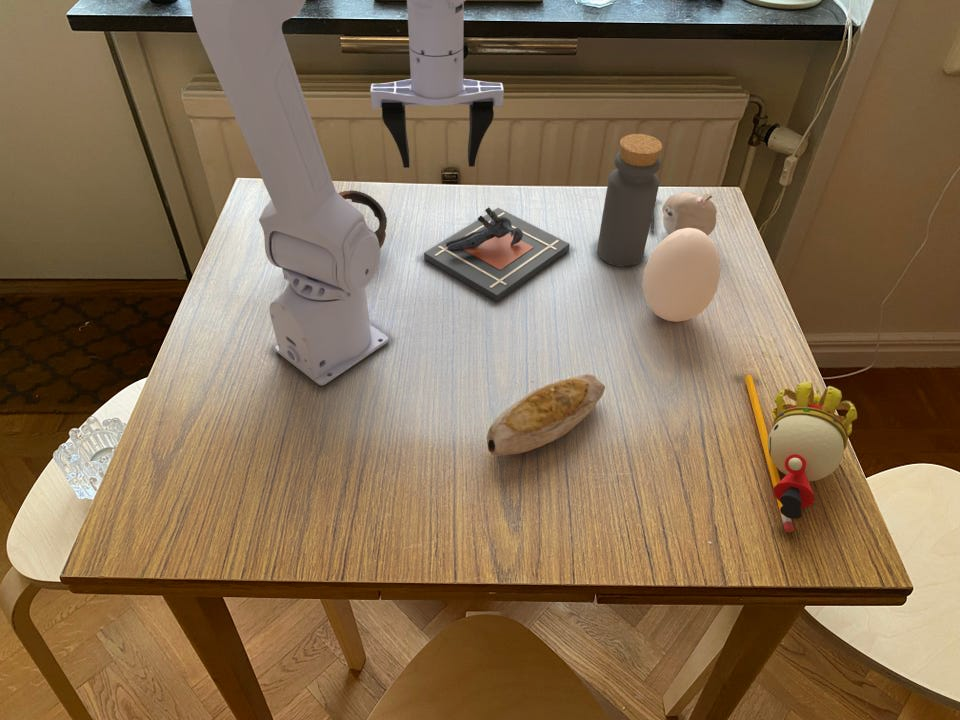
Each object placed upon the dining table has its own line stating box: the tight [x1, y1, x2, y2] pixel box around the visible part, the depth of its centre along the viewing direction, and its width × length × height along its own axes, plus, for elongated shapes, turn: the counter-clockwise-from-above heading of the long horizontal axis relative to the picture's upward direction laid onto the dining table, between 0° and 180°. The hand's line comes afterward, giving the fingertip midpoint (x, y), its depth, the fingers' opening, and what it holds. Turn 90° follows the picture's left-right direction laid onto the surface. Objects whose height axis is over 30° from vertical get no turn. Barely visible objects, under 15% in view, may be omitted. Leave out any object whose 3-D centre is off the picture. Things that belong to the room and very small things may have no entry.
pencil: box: [744, 374, 795, 533], centre depth 67 cm, size 1×18×1 cm, turn 175°
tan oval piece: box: [486, 374, 606, 457], centre depth 67 cm, size 5×14×4 cm, turn 126°
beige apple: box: [662, 191, 718, 237], centre depth 89 cm, size 7×6×8 cm
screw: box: [650, 200, 657, 233], centre depth 95 cm, size 8×1×1 cm
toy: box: [768, 381, 858, 520], centre depth 64 cm, size 7×7×15 cm
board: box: [423, 207, 571, 303], centre depth 88 cm, size 14×12×1 cm
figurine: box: [445, 206, 523, 250], centre depth 87 cm, size 12×10×5 cm
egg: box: [642, 228, 721, 323], centre depth 77 cm, size 8×8×11 cm
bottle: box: [596, 133, 663, 267], centre depth 84 cm, size 6×6×15 cm
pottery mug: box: [337, 189, 388, 249], centre depth 87 cm, size 12×10×8 cm
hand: (438, 162), depth 84 cm, fingers open, 7 cm apart
